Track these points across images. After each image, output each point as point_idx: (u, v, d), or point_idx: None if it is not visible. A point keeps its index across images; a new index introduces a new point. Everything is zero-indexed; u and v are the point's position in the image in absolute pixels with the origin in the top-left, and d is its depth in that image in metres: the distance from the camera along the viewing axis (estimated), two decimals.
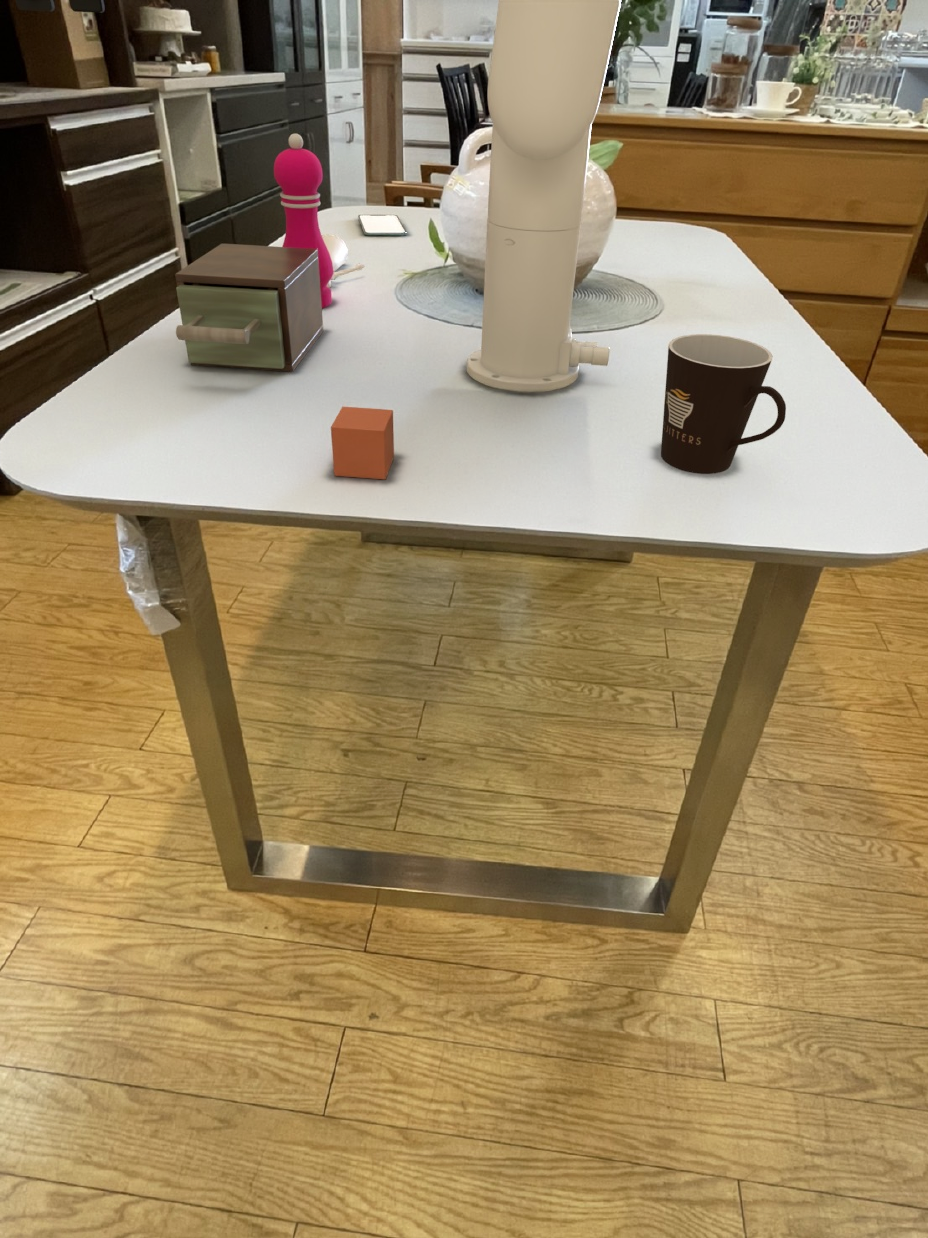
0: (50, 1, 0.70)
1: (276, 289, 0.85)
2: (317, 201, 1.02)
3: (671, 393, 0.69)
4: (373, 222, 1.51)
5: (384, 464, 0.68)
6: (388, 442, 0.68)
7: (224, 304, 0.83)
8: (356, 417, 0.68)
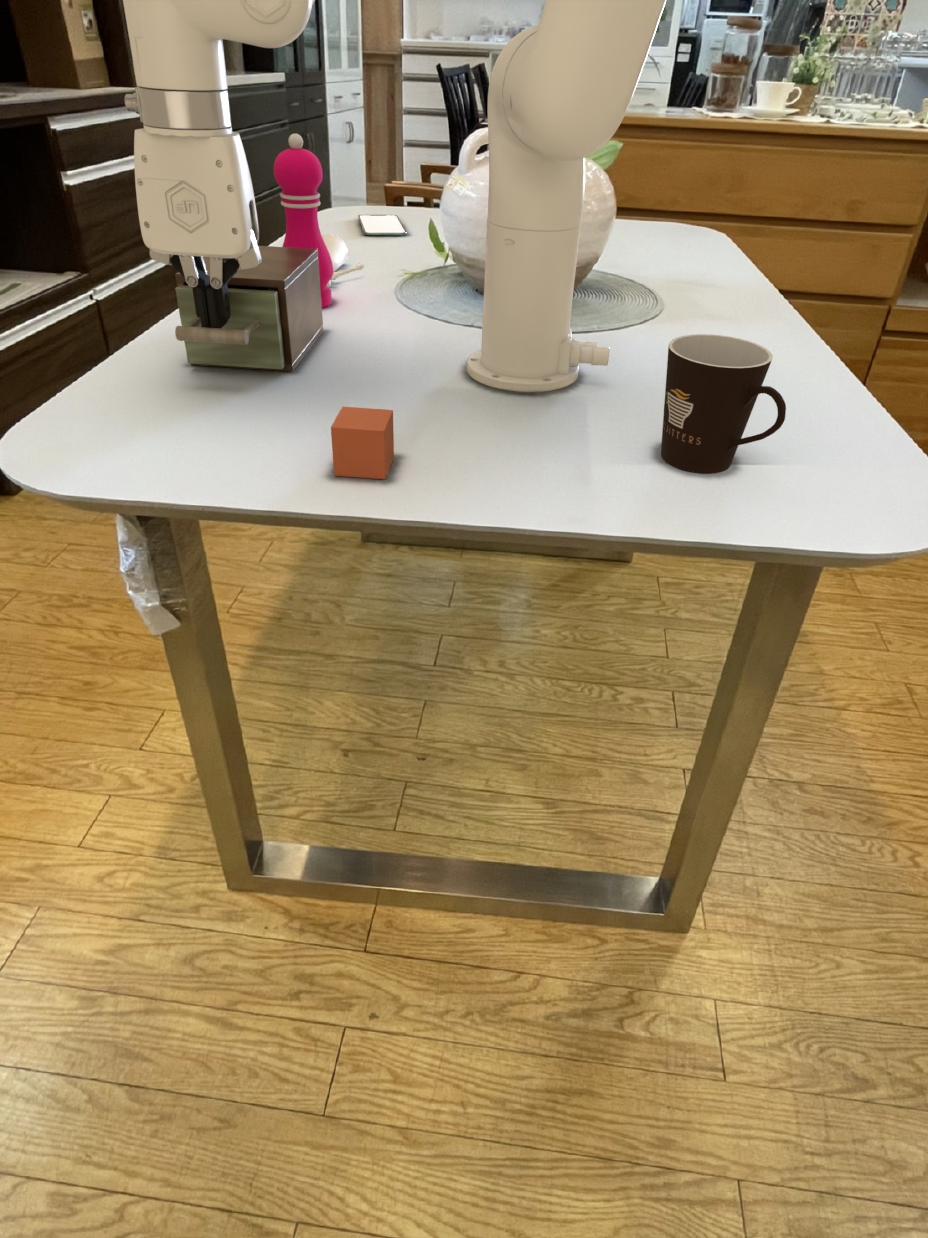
0: (201, 323, 0.80)
1: (275, 290, 0.84)
2: (317, 201, 1.02)
3: (671, 393, 0.69)
4: (373, 222, 1.51)
5: (384, 464, 0.68)
6: (388, 442, 0.68)
7: None
8: (356, 417, 0.68)
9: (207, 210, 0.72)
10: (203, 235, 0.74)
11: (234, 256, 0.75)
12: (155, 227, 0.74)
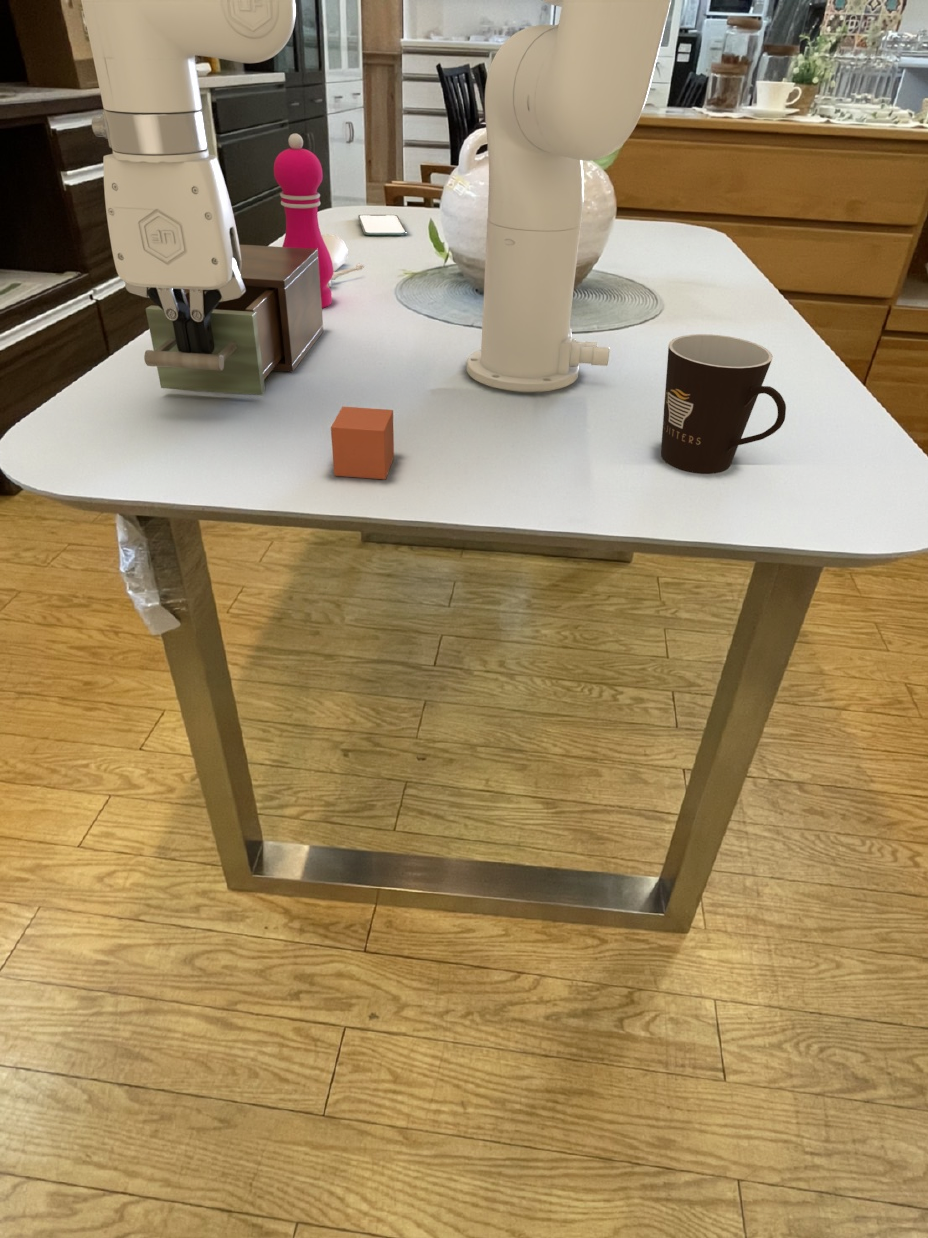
0: None
1: (254, 310, 0.78)
2: (317, 201, 1.02)
3: (671, 393, 0.69)
4: (373, 222, 1.51)
5: (384, 464, 0.68)
6: (388, 442, 0.68)
7: None
8: (356, 417, 0.68)
9: (184, 240, 0.67)
10: (181, 266, 0.69)
11: (215, 287, 0.70)
12: (129, 259, 0.69)
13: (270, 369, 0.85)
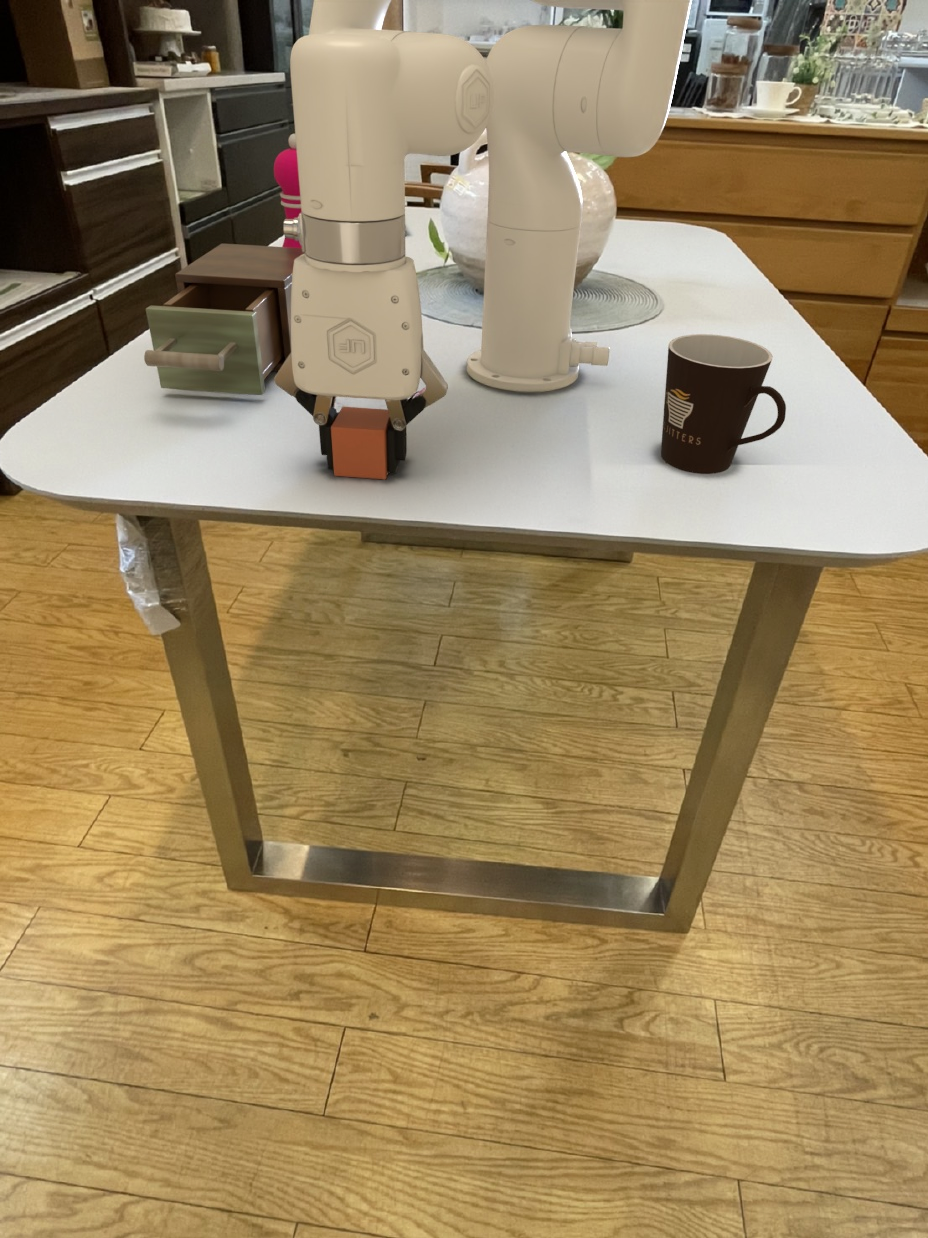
0: (327, 463, 0.69)
1: (254, 310, 0.78)
2: None
3: (671, 393, 0.69)
4: None
5: (384, 464, 0.68)
6: None
7: (198, 326, 0.77)
8: (356, 417, 0.68)
9: (375, 350, 0.61)
10: (367, 376, 0.63)
11: (401, 398, 0.64)
12: (311, 367, 0.63)
13: (270, 369, 0.85)
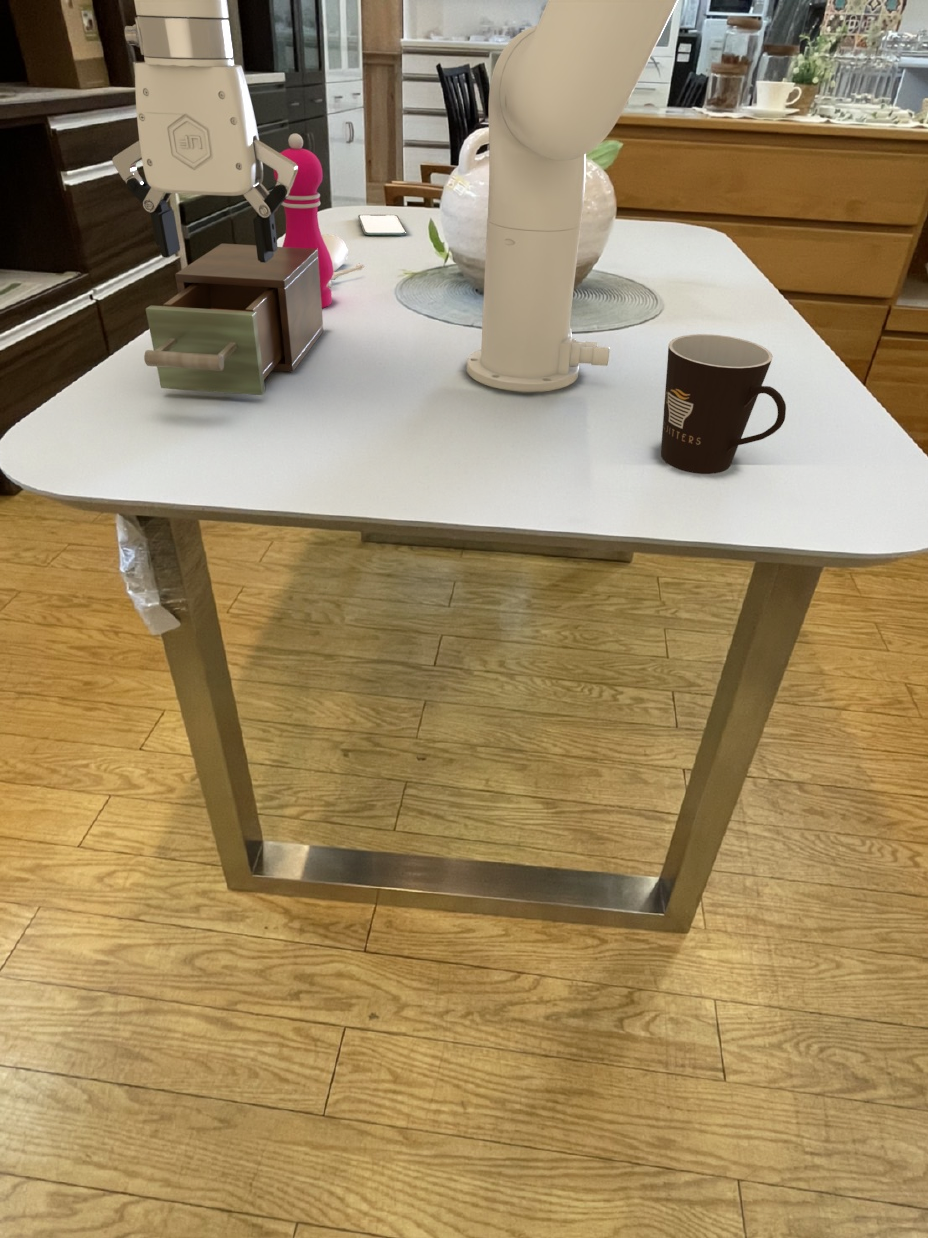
0: (161, 250, 0.78)
1: (254, 310, 0.78)
2: (317, 201, 1.02)
3: (671, 393, 0.69)
4: (373, 222, 1.51)
5: None
6: None
7: (198, 326, 0.77)
8: None
9: (210, 145, 0.71)
10: (207, 171, 0.72)
11: (238, 193, 0.73)
12: (158, 164, 0.72)
13: (270, 369, 0.85)
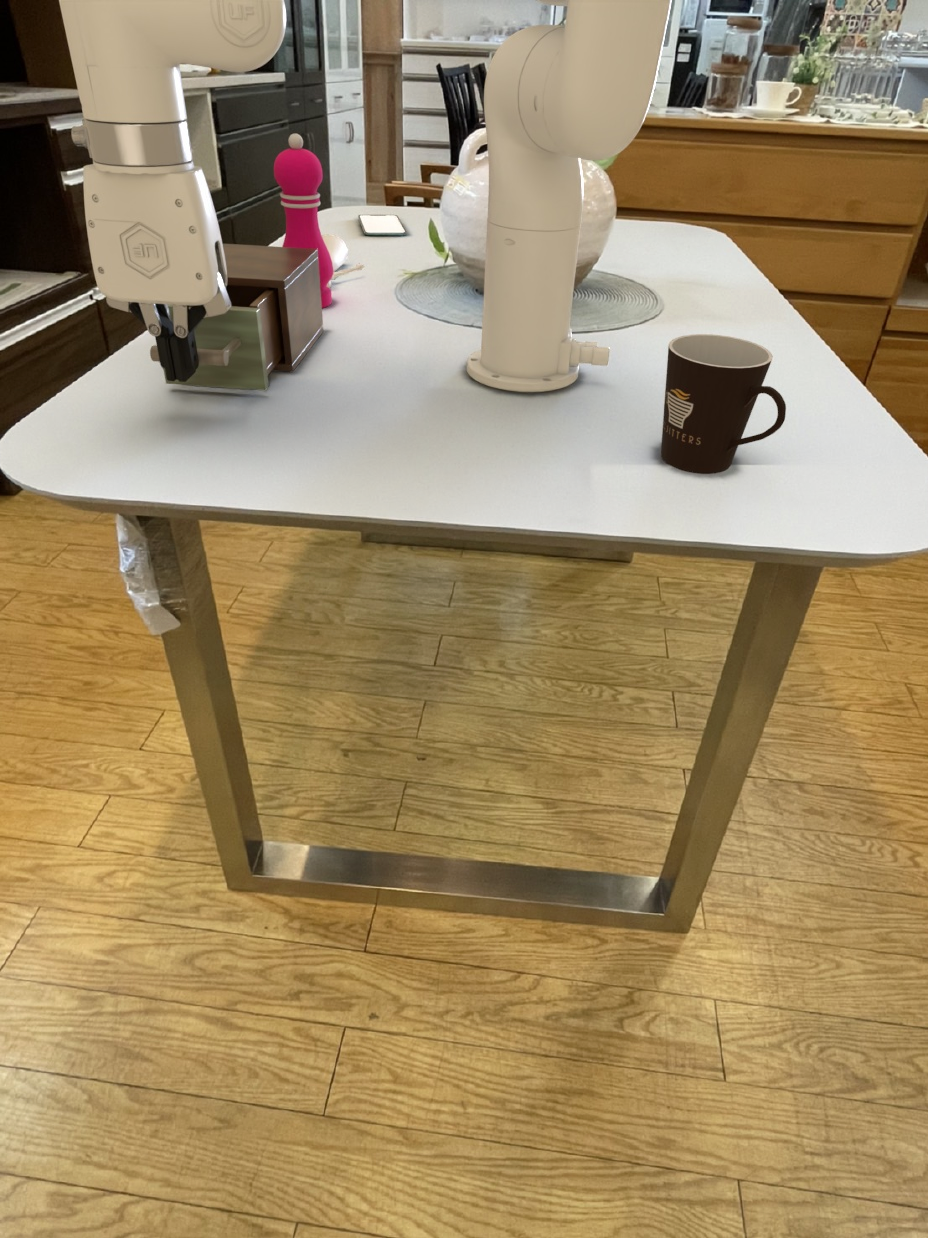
0: (166, 374, 0.72)
1: (258, 306, 0.79)
2: (317, 201, 1.02)
3: (671, 393, 0.69)
4: (373, 222, 1.51)
5: None
6: None
7: (202, 322, 0.78)
8: None
9: (167, 254, 0.65)
10: (164, 281, 0.66)
11: (199, 303, 0.67)
12: (110, 273, 0.66)
13: (273, 365, 0.86)
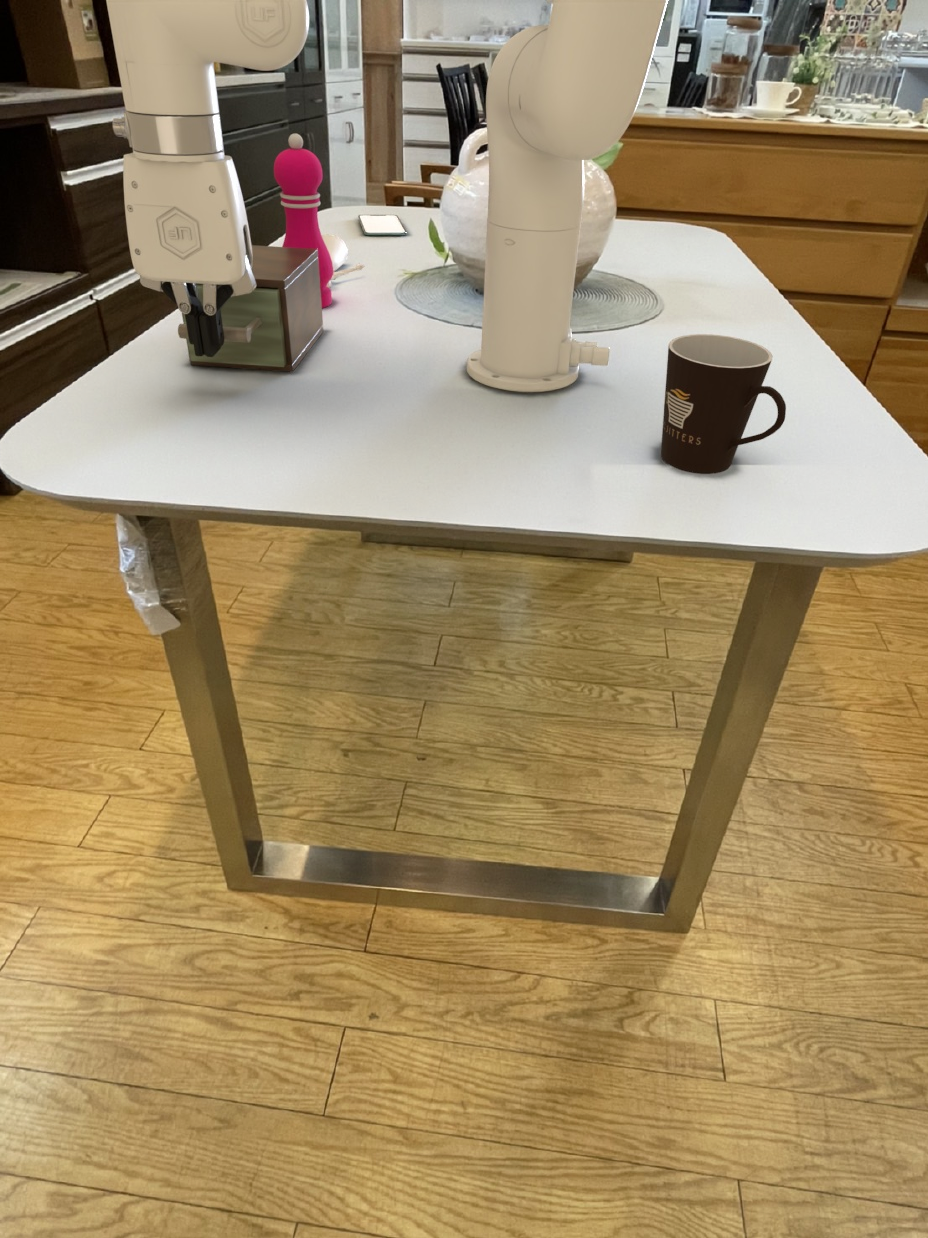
0: (195, 350, 0.78)
1: (277, 288, 0.85)
2: (317, 201, 1.02)
3: (671, 393, 0.69)
4: (373, 222, 1.52)
5: None
6: None
7: (226, 302, 0.83)
8: None
9: (200, 236, 0.70)
10: (196, 262, 0.72)
11: (228, 282, 0.73)
12: (146, 254, 0.72)
13: None
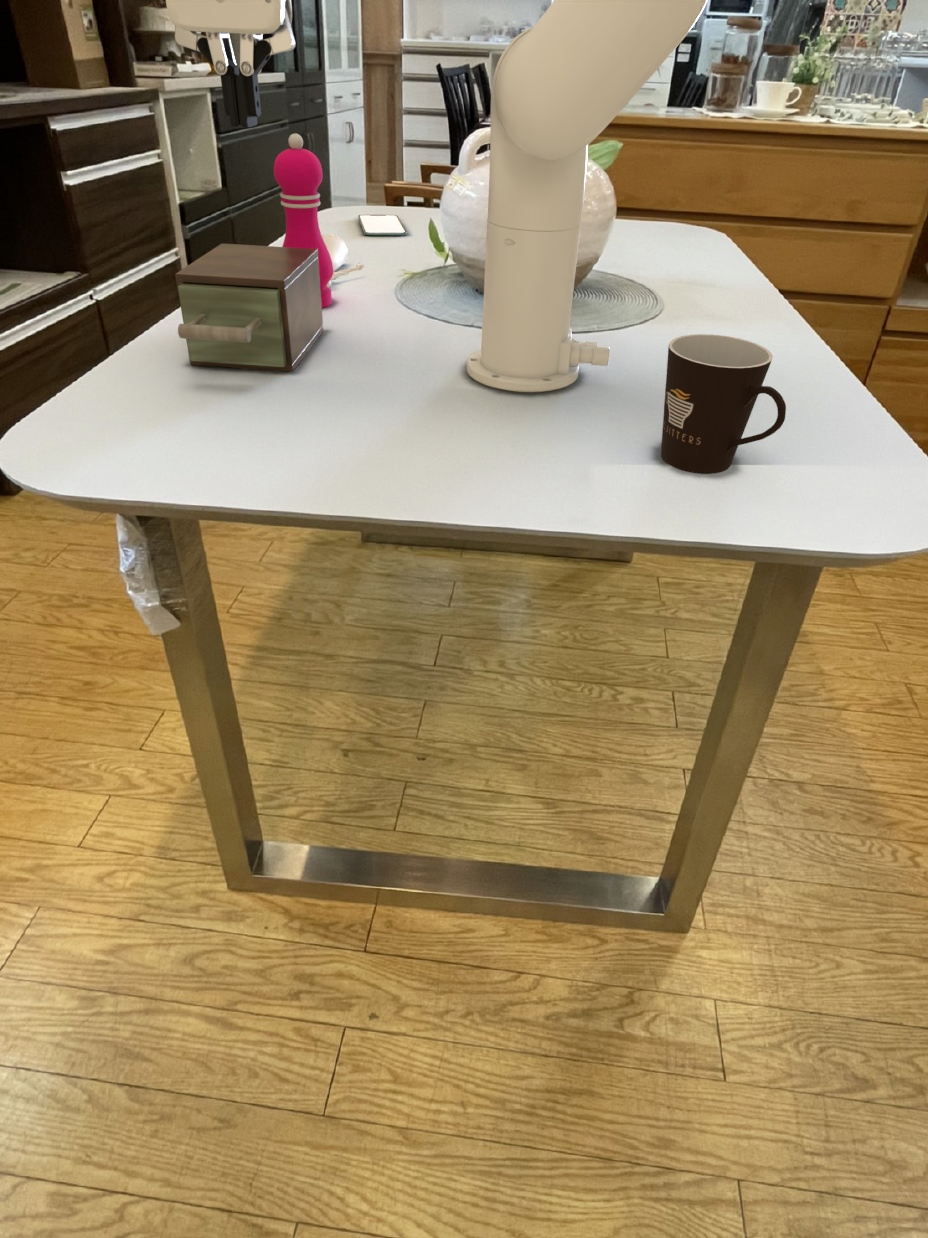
0: (230, 118, 0.74)
1: (277, 288, 0.85)
2: (317, 201, 1.02)
3: (671, 393, 0.69)
4: (373, 222, 1.52)
5: None
6: None
7: (226, 302, 0.83)
8: None
9: None
10: (234, 5, 0.68)
11: (266, 30, 0.69)
12: None
13: None
